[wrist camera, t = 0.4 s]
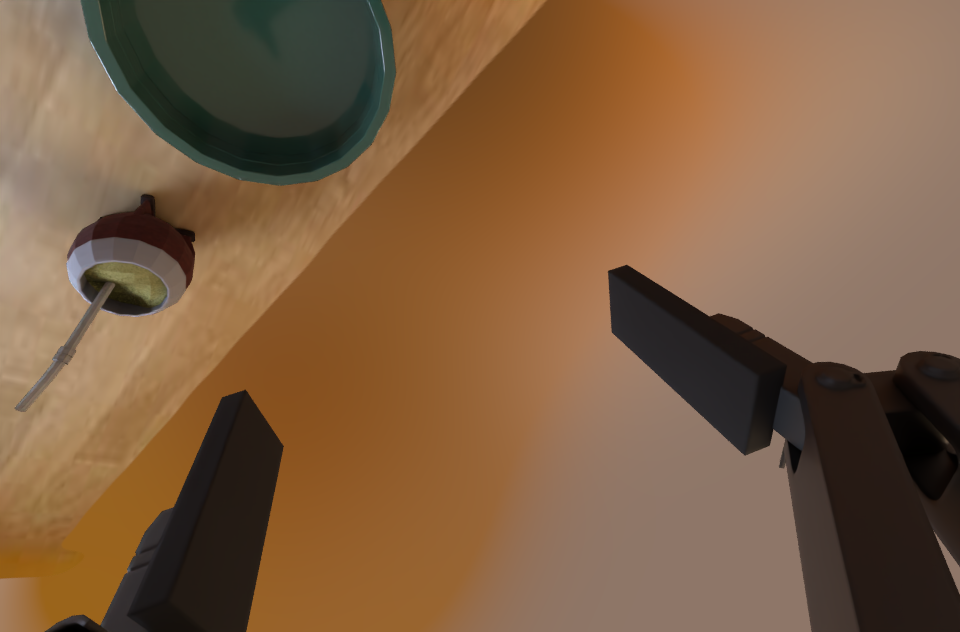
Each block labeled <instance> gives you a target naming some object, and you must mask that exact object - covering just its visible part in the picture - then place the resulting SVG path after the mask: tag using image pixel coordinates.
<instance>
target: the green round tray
mask: <svg viewBox="0 0 960 632" xmlns="http://www.w3.org/2000/svg"><path fill="white" fill-rule="evenodd" d="M81 4H82V9H83V14H84V18H85V23H86V28H87V32H88V37H89V39H90V42H91V44H92V46H93V48H94V50H95V52H96V54H97V55H98V57H99V59H100V61H101V63H102V65H103V66H104V68H105V70H106V72H107V74H108V76H109V78H110V79H111V81H112V83H113V85H114V87H115V89H116V90H117V92H118V93H119V94H120V95H121V97H122V98H123V99H124V100H125V101H126V102H127V103H128V104H129V105H130V106H131V108H132V109H133V110H134V111H135V112H136V113H137V114H138V115H139V116H140V117H141V119H142V120H143V121H144V122H145V123H146V124H147V125H148V126H149V127H150V128H151V130H152V131H153V132H154V133H156V135H158V136H159V137H161V138H162V139H163V140H165V141H166V142H168V143H169V144H171V145H172V146H173V147H175V148H176V149H178V150H179V151H181V152H182V153H183V154H185V155H186V156H188V157H189V158H191V159H192V160H194V161H195V162H196V163H199V164H201V165H203V166H206V167H208V168H211V169H213V170H216V171H218V172H221V173H223V174H226V175H228V176H231V177H233V178H236V179H238V180H243V181H250V182H257V183H264V184H271V185H278V186H279V185H280V186H282V185H290V184H298V183H306V182H314V181H318V180H320V179H322V178H325V177H327V176H329V175H331V174H333V173H336V172H338V171H340V170H342V169H344V168H347V167H348V166H349V165H350V164H351V163H352V162H353V161H355V160H356V159H357V158H358V157H359V156H360V155H361V154H362V153H363V152H364V151H365V150H366V149H367V148H368V147H370V146H371V145H372V143H373V141H374V140H375V138H376V136H377V134H378V132H379V130H380V128H381V126H382V125H383V123H384V121H385V119H386V117H387V115H388V112H389V110H390V105H391V99H392V94H393V88H394V82H395V77H396V66H395V57H394V48H393V38H392V29H391V25H390V23H389V20H388V17H387V15H386V12H385V9H384V7H383V4H382V2H381V0H81Z"/></svg>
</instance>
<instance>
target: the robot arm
mask: <svg viewBox="0 0 960 632" xmlns="http://www.w3.org/2000/svg"><path fill="white" fill-rule="evenodd" d="M608 276H609V294H610V311H611V328H612V333H613V334H614V335H615V336H616V337H617V338H619V339H620V340H621V341H622V342H623V343H624V344H625V345H626V346H627V347H628V348H630V350H632V351H633V352H634V353H635V354H636V355H637V356H638V357H639V358H640V359H641V360H642V361H643V362H644V363H645V364H647V365H648V366H649V367H650V368H651V369H652V370H653V371H654V372H655V373H656V374H658V376H660V377H661V378H662V379H663V380H664V381H665V382H666V383H667V384H668V385H669V386H670V387H672V389H674V390H675V391H676V392H677V393H678V394H679V395H680V396H681V397H682V398H683V399H684V400H686V402H687V403H689V404H690V405H691V406H692V407H693V408H694V409H695V410H696V411H697V412H698V413H699V414H700V415H702V416H703V417H704V418H705V419H706V420H707V421H708V422H709V423H710V424H711V425H712V426H713V427H714V428H716V429H717V430H718V431H719V432H720V433H721V434H722V435H723V436H724V437H725V438H726V439H727V440H728V441H730V442H731V443H732V444H733V445H734V446H735V447H736V448H737V449H738V450H739V451H740V452H741V453H743V454H744V455H748V454H750V453H753V452H755V451H758V450H760V449H762V448H765V447H767V446H769V445H770V442H771V438H772V433H773V429H774V430H775V431H776V432H778V433H779V434H780V435H782V436H783V437H784V438H785V443H784V447H783V451H782V455H781V460H780V465H779V467H780V468H784V467H785V463H786V466H787V473H788V479H789V486H790V492H791V499H792V506H793V512H794V518H795V525H796V532H797V538H798V545H799V551H800V558H801V564H802V571H803V578H804V584H805V590H806V597H807V604H808V610H809V617H810V623H811V630H812V632H960V594H959V592H958V589H957V587H956V585H955V582H954V580H953V578H952V575H951V573H950V571H949V568H948V565H947V563H946V560H945V558H944V555H943V554H942V551H941V548H940V546H939V543H938V541H937V539H936V536H935V534H934V532H935V533H936V534H937V536H938V537H939V539H940V540H941V541H942V543H943V544H944V545H945V547H946V548H947V550H948V551H949V552H950V554H951V555H952V556H953V558H954V559H955V561H956V562H957V563H958V565H959V566H960V359H959V358H956V357H954V356H951V355H946V354H941V353H937V352H925V351H919V352H912V353H907V354H906V355H904V356H902V357H901V359H900V361H899V364H898V366H897V369H896V370H893V371H882V372H872V373H862V372H860V371H858V370H857V369H855V368H852V367H849V366H846V365H844V364H839V363H833V362H817V363H812V362H810V361H808V360H806V359H805V358H803V357H801V356H800V355H798V354H796V353H794V352H793V351H791V350H790V349H787V348H786V347H784V346H783V345H781V344H779V343H778V342H776V341H774V340H773V339H771V338H769V337H765V335H764V334H762V333H761V332H759V331H757V330H753V328H752V327H750V326H749V325H747V324H745V323H744V322H742V321H740V320H738V319H736V318H733V317H729V316H726V315H723V314H716V315H713V316H708V315H706V314H705V313H703V312H701V311H700V310H698V309H697V308H695V307H693V306H692V305H690V304H689V303H687V302H686V301H684V300H682V299H681V298H679V297H678V296H676V295H674V294H673V293H671V292H670V291H668V290H666V289H665V288H663V287H662V286H660V285H658V284H657V283H655V282H653V281H652V280H650V279H649V278H647V277H646V276H644V275H642V274H641V273H639V272H638V271H636V270H634V269H633V268H631V267H630V266H628V265H625V266H622V267H619V268H616V269H613V270H610V271H608ZM283 447H284V446H283V445H282V443H281V442H280V440H279V439H278V437H277V436H276V434H275V433H274V431H273V430H272V428H271V427H270V425H269V424H268V422H267V421H266V419H265V418H264V416H263V415H262V414H261V412H260V410H259V409H258V407H257V406H256V404H255V403H254V402H253V400H252V399H251V397H250V395H249V394H248V392H247V391H246V390H244V391H240V392H237V393H234V394H231V395H228V396H225V397H222V399H221V401H220V403H219V406H218V408H217V410H216V413H215V415H214V417H213V419H212V422H211V424H210V426H209V428H208V431H207V433H206V435H205V437H204V440H203V442H202V445H201V447H200V449H199V451H198V453H197V456H196V458H195V460H194V463H193V465H192V467H191V470H190V472H189V474H188V476H187V479H186V481H185V483H184V485H183V488H182V490H181V492H180V495H179V497H178V499H177V502H176V504H175V506H174V507H173V508H171V509H168V510H165V511H162V512H161V513H160V514H159V516H158V517H157V518H156V519H155V521H154V522H153V523H152V524H151V525H150V527H149V528H148V529H147V530H146V532H145V533H144V535H143V538H142V540H141V542H140V544H139V546H138V548H137V550H136V552H135V553H136V556H134V557H133V558H132V560H131V563H130V565H129V567H128V569H127V570H128V573H126V574H125V575H124V577H123V579H122V581H121V583H120V586H119V588H118V590H117V592H116V594H115V596H114V598H113V600H112V602H111V604H110V606H109V609H108V611H107V613H106V615H105V617H104V619H103V621H102V623H101V625H98V624H97V623H95V622H94V621H92V620H91V619H89V618H88V617H87V616H85V615H76V616H71V617H69V618H67V619H64V620H63V621H60V622H58V623H56V624H55V625H54V626H52V627H51V628H49V629H48V630H47V631H45V632H246V630H247V625H248V620H249V615H250V610H251V605H252V600H253V595H254V590H255V585H256V580H257V575H258V570H259V565H260V561H261V555H262V551H263V546H264V541H265V536H266V531H267V526H268V521H269V516H270V511H271V506H272V501H273V496H274V492H275V487H276V482H277V477H278V472H279V467H280V462H281V457H282V452H283ZM933 530H934V531H933Z"/></svg>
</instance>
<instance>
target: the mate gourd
mask: <svg viewBox="0 0 960 632" xmlns="http://www.w3.org/2000/svg"><path fill="white" fill-rule="evenodd" d="M194 241H195V233H194V232H192V231H187V230H181V229H175V228H173V227H172V226H171V225H169V224H168V223H167V222H165V221H163V220H161V219H159V218H156V217H155V200H154V197H153V196H150V195H145V194H144V195H142V196H141V205H140V206H139V207H138V208H137V209H136V211H135V212H126V213H118V214H112V215H109V216H106V217H100V219H99V220H97V221H96V222H95V223H93V224H91V225H89V226H87V227H85V228H83V229H82V230H81V232H80V233H79V234H78V235H77V237H76V239H75V240H74V242H73V244H72V246H71V247H70V250H69V252H68V255H67V258H68V262H67V263H66V265H67V270H68V276H69V281H70V282H71V284H72V285H73V286H74V287H75V289H76V290H77V291H78V292H79V293H80V294H81V296H82V297H83V298H84V299H85V300H86V301H87V302H89V303H90V304H91V305H90V307H89V309H88V310H87V312H86V313H85V315H84V316H83V318H82V319H81V321H80V322H79V324H78V325H77V327H76V328H75V330H74V332H73V333H72V335H71V336H70V338H69V339H68V341H67V342H66V344H65V345H64V346H61V347H60V349H59V350H58V351H57V354H55V356H54V357H53V359H52V360H53V361H54V362H53V363H52V364H51V366H50V367H49V368H48V369H47V371H46V372H45V373H44V374H43V376H42V377H41V378H40V379H39V381H38V382H37V383H36V384H35V385H34V386H33V387H32V389H31V390H30V391H29V392H28V393H27V394H26V395H25V397H24V398H23V399H22V400H21V401H20V402H19V403H18V405H17V406H16V407H15V409H16V410H17V411H21V412H25V411H27V409H28V408H29V407H30V406H31V405H32V404H33V403H34V402H35V400H36V399H37V398H38V397H39V396H40V395H41V393H42V392H43V391H44V390H45V389H46V388H47V387H48V385H49V384H50V383H51V382H52V381H53V379H54V378H55V377H56V376H57V374H58V373H59V372H60V371H61V369H62V368H63V367H64V365H65V364H67V365H68V364H69V362H70V361H71V358H73V356H74V355H75V353H76V350H75V349H76V347H77V345H78V344H79V342H80V340H81V339H82V337H83V336H84V334H85V332H86V331H87V329H88V328H89V326H90V324H91V323H92V321H93V320H94V318H95V316H96V315H97V313H98V312H99V310H103V311H106V312H109V313H113V314H116V315H119V316H134V317H139V316H144V315H150V314H155V313H158V312H160V311H162V310H164V309H166V308H168V307H170V306H172V305H174V304H175V303H177V302H178V301H179V299H180V298H181V297H182V295H183V294H184V292H185V291H186V289H187V287H188V286H189V285H190V283H191V280H192V277H193V268H194V261H195V251H194V248H193V245H192V242H194Z"/></svg>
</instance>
